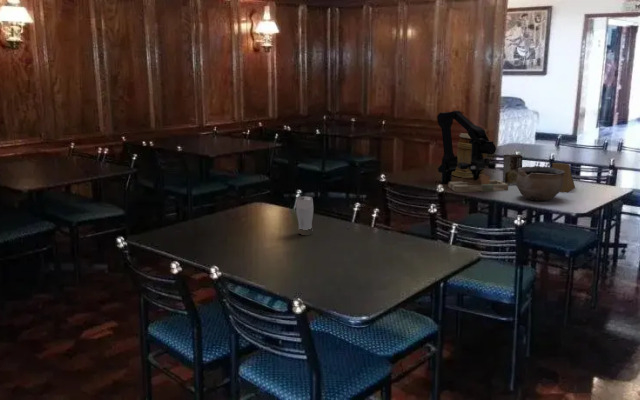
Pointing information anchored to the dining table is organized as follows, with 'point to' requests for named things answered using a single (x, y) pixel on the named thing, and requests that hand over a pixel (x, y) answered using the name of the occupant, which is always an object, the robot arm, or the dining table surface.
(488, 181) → the block
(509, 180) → the coffee box
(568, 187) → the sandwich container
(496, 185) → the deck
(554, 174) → the ceramic bowl
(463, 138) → the tankard
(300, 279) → the dining table surface
